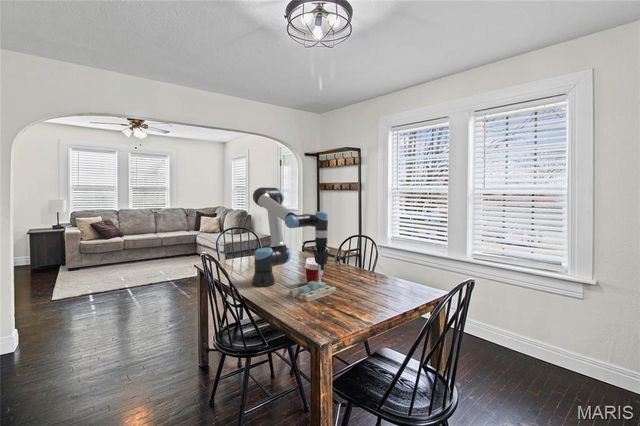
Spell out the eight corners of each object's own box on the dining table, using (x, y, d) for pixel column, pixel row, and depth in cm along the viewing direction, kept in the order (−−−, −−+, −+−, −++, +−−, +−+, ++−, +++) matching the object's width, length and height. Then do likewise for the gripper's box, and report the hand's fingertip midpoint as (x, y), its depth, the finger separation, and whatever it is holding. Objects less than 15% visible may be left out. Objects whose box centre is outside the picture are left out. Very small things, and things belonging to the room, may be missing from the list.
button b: (307, 288, 192) (307, 282, 192) (312, 287, 196) (312, 280, 195) (313, 290, 189) (313, 284, 189) (318, 288, 192) (318, 282, 192)
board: (289, 295, 189) (289, 290, 189) (316, 286, 207) (316, 282, 206) (308, 301, 178) (308, 296, 178) (335, 292, 196) (335, 287, 196)
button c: (315, 289, 197) (315, 283, 197) (320, 288, 201) (320, 281, 201) (320, 291, 194) (321, 284, 194) (326, 289, 198) (326, 283, 197)
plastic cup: (314, 287, 206) (314, 268, 205) (300, 284, 212) (301, 266, 212) (323, 283, 215) (323, 265, 214) (310, 280, 221) (310, 263, 220)
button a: (298, 294, 187) (298, 288, 187) (304, 293, 191) (304, 286, 190) (304, 296, 184) (304, 289, 184) (310, 294, 187) (310, 288, 187)
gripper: (309, 236, 197) (308, 274, 199) (325, 238, 188) (324, 278, 190) (317, 235, 203) (317, 272, 204) (333, 237, 194) (332, 275, 195)
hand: (320, 274), depth 197 cm, fingers closed
